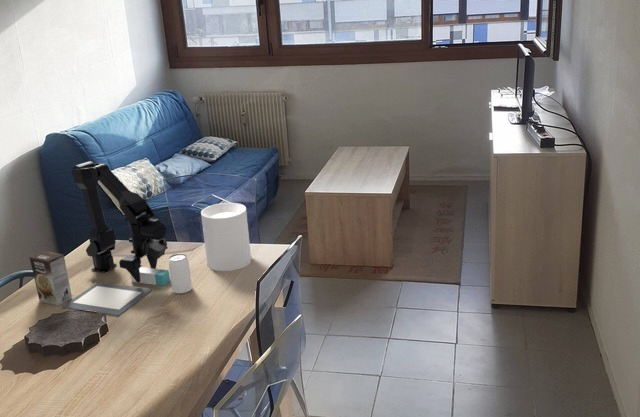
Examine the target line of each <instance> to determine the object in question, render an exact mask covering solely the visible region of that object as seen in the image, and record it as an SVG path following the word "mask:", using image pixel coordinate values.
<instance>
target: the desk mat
mask: <svg viewBox="0 0 640 417" xmlns="http://www.w3.org/2000/svg"><path fill="white" fill-rule="evenodd" d="M152 291H153V289H152V288H145V287H137V286H130V285H124V284H123V285H121V284H116V283H106V282H99V281H97V282H96V283H95V284H93V285H91V286H90V287H89V288H87V289H86V290H84V291H83V292H81V293H79V294H78V295H77V296H76V297H74V298H72V299H70V300H68V301H67V302H65V303H64V305H63V304H62V306H61V308H62V309H68V310H73V311H74V310H75V311H80V310H95V311H96V312H97V313H96V314H99V313H100V315H107V316H114V317H120V316H121V315H123V314H124V313H125V312H126V311H128V310H129V309H130V308H132V307H133V306H134V305H135V304H136V303H137V304H138V302H140V300H142V299H143V298H144V297H146V296H147V295H148V294H149V293H150V292H152Z"/></svg>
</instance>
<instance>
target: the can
mask: <svg viewBox="0 0 640 417" xmlns="http://www.w3.org/2000/svg"><path fill="white" fill-rule="evenodd" d="M168 259H169V260H168V270H169V276H170V283H171V288H172V292H173V293H175V294H177V295H183V294H186V293H188V292H190V291H191V290H192V288H193V284H192V278H191V270H190V268H191V267H190V261H189V258H188V257H187V255H186V253H185V254H184V253H175V254H172V255H170V256H169V258H168Z"/></svg>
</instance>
